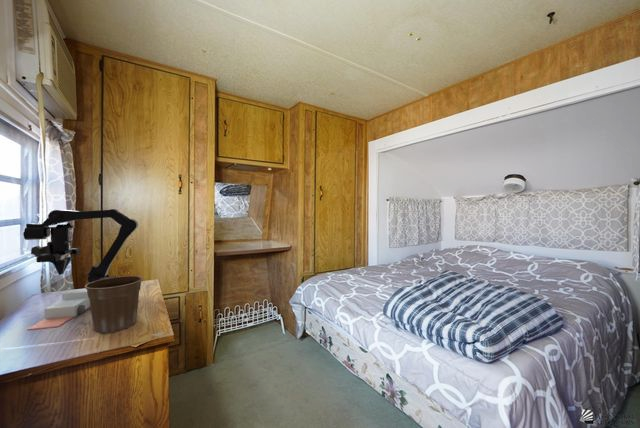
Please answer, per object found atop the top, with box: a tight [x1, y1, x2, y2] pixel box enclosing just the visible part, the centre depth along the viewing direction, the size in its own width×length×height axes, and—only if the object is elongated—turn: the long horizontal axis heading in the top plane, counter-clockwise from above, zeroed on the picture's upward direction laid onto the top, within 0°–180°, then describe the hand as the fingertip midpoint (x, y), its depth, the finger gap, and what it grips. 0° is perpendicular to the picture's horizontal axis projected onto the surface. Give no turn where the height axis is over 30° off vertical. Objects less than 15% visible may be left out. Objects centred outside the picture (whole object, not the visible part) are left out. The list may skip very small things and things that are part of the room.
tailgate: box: [27, 316, 75, 331], centre depth 95 cm, size 1×9×8 cm
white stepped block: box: [44, 288, 91, 319], centre depth 106 cm, size 15×11×7 cm
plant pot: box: [84, 275, 143, 334], centre depth 94 cm, size 16×16×16 cm
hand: (60, 274), depth 114 cm, fingers closed
